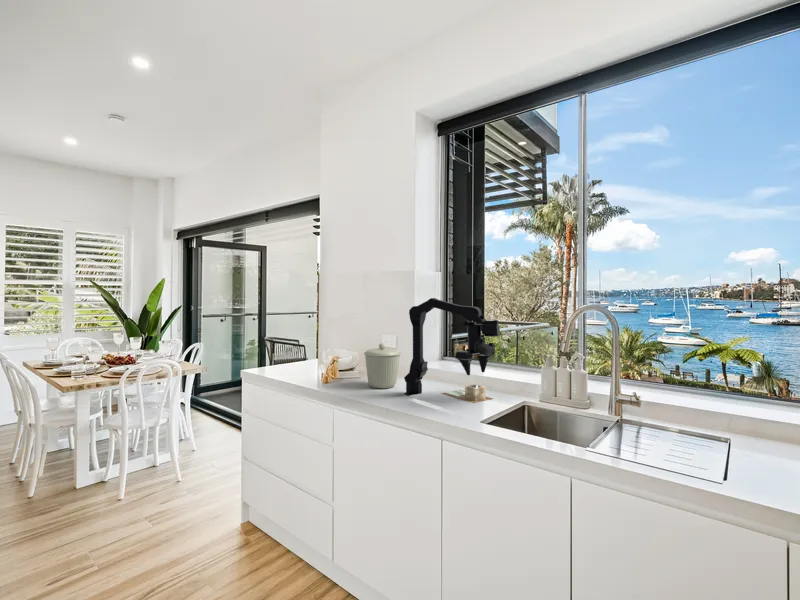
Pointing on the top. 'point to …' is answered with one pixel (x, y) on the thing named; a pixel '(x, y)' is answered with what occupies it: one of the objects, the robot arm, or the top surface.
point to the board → (463, 396)
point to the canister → (382, 366)
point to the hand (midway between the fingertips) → (476, 373)
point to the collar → (475, 392)
